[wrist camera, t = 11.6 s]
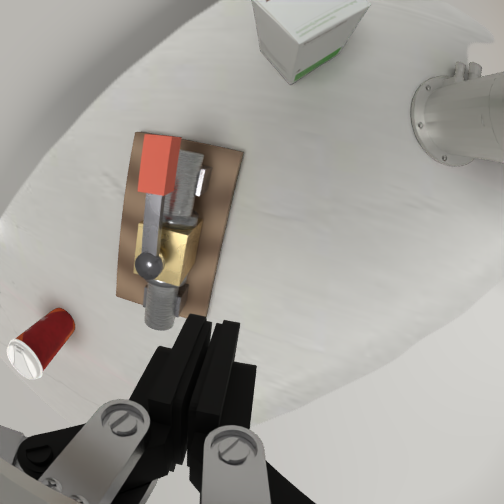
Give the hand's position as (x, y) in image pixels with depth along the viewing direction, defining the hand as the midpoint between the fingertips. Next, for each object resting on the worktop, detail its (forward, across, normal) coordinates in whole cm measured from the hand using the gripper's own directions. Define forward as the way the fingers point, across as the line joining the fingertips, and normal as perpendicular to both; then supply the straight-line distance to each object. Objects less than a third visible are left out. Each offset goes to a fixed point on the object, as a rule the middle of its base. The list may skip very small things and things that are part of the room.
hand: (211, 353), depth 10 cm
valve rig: (+31, +11, +6) cm, 34 cm away
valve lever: (+20, +9, +1) cm, 22 cm away
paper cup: (+31, +32, +27) cm, 53 cm away
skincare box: (+31, -2, -20) cm, 37 cm away
